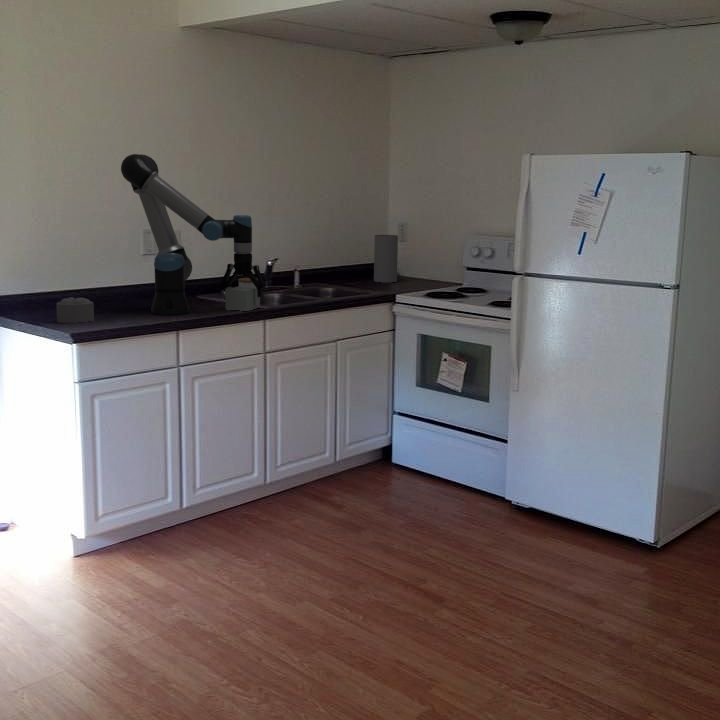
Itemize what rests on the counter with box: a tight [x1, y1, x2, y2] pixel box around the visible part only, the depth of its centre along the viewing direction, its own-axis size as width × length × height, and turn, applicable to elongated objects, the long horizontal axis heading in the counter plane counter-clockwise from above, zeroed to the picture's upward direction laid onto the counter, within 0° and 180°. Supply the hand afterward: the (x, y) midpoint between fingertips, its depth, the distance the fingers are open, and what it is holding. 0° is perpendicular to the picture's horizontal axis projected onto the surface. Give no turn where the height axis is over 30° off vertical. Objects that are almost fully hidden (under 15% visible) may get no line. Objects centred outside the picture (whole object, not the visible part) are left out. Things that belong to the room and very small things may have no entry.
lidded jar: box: [237, 277, 257, 288], centre depth 422 cm, size 11×11×9 cm
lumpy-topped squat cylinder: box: [55, 296, 95, 324], centre depth 339 cm, size 10×13×9 cm
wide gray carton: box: [224, 286, 261, 312], centre depth 376 cm, size 10×10×9 cm
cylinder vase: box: [373, 234, 399, 284], centre depth 486 cm, size 12×12×25 cm
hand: (243, 303), depth 378 cm, fingers open, 13 cm apart
